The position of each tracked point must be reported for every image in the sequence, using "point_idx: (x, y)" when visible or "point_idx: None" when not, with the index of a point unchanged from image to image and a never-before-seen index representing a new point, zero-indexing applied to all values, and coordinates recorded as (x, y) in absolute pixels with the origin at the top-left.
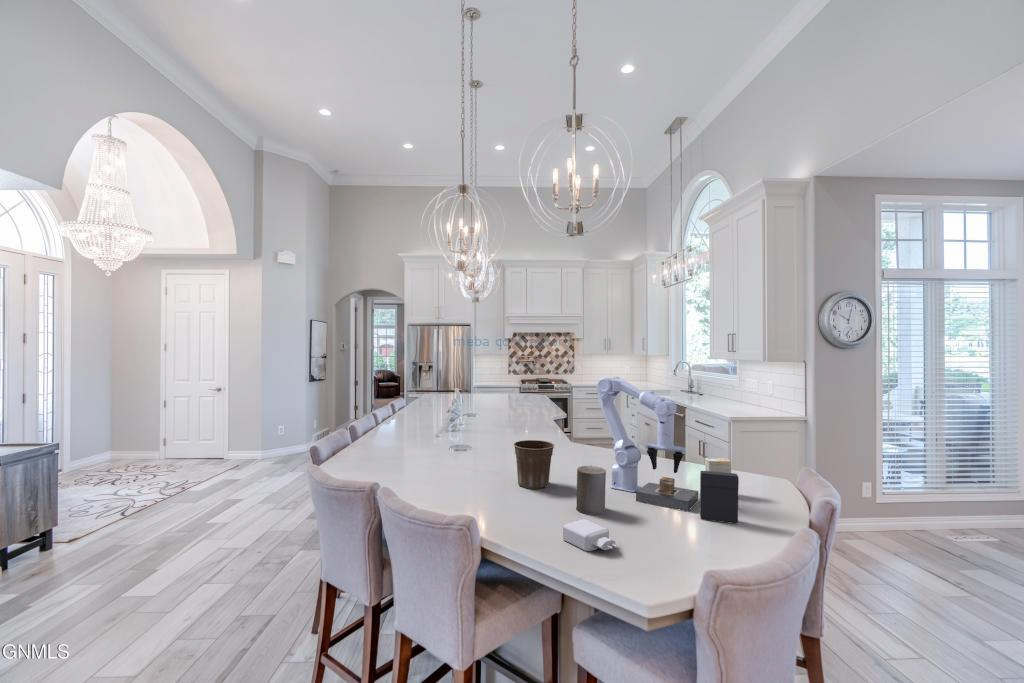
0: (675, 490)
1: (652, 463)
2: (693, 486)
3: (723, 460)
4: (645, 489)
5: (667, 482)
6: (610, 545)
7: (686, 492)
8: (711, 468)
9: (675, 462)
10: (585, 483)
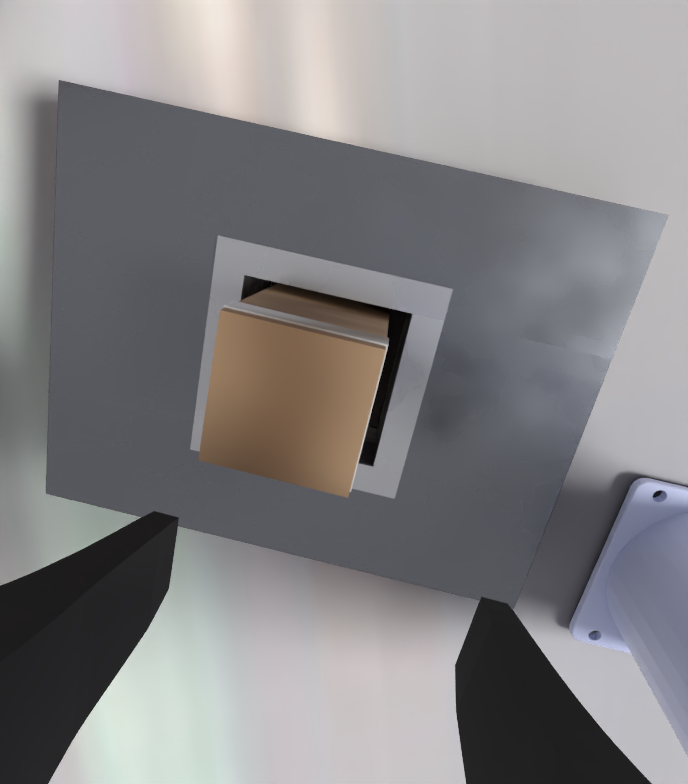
0: None
1: (545, 671)
2: (184, 765)
3: None
4: (549, 344)
5: (276, 315)
6: None
7: (132, 406)
8: None
9: (28, 605)
10: None
